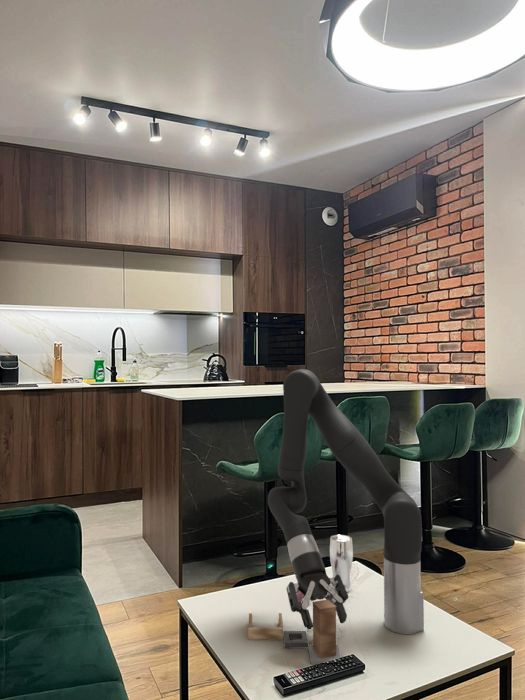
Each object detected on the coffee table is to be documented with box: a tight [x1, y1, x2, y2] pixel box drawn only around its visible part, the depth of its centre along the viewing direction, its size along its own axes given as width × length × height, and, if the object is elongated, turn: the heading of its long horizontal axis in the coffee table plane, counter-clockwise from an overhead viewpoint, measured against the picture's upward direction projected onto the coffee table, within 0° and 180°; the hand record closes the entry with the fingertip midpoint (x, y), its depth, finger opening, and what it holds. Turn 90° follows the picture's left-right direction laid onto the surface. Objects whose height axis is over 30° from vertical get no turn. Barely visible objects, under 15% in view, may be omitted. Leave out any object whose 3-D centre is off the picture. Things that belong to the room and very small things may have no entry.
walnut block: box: [312, 599, 337, 659], centre depth 120 cm, size 4×4×11 cm
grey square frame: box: [283, 630, 309, 649], centre depth 125 cm, size 6×6×1 cm
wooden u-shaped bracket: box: [247, 612, 284, 640], centre depth 130 cm, size 9×8×2 cm
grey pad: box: [307, 643, 342, 665], centre depth 119 cm, size 7×7×1 cm
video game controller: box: [296, 589, 304, 604], centre depth 149 cm, size 10×5×7 cm, turn 169°
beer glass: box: [329, 534, 354, 593], centre depth 156 cm, size 7×7×15 cm
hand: (327, 625), depth 118 cm, fingers open, 8 cm apart
